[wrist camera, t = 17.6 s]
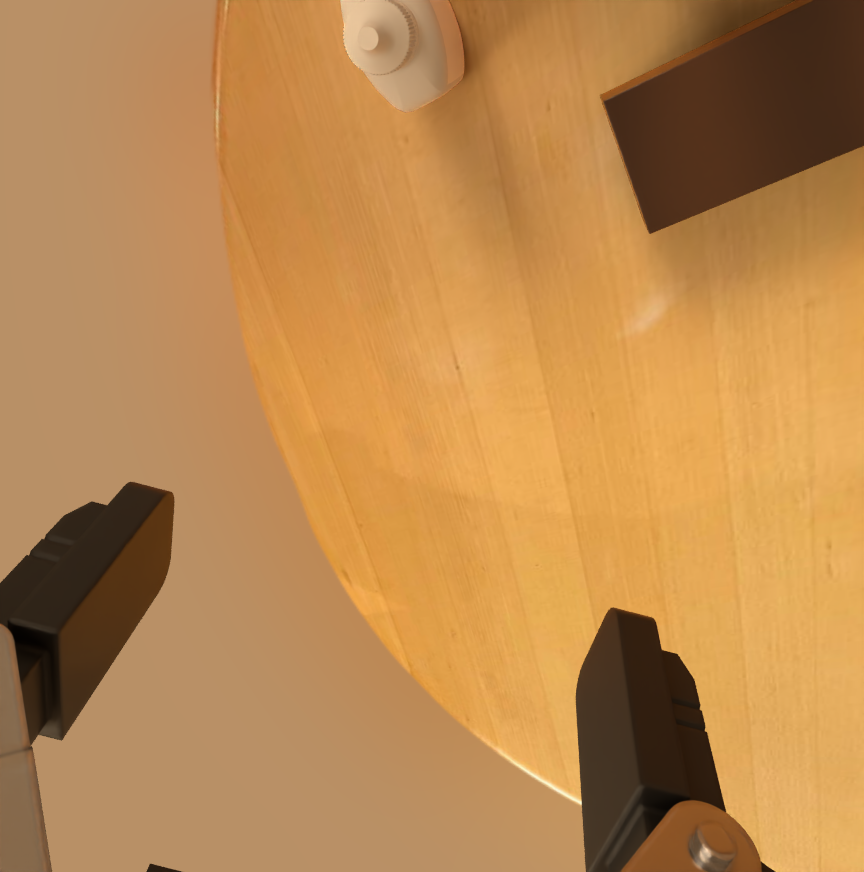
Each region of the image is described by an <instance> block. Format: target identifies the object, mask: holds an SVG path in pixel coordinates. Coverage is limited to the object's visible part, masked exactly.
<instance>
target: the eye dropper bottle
mask: <svg viewBox="0 0 864 872" xmlns="http://www.w3.org/2000/svg"><path fill="white" fill-rule="evenodd" d="M340 2H341V11H342V16H343V21H344V27H343V28H344V30H343V32H344V34H343V37H344V38H343V40H344V44H345V48H346V52H348V53H347V55H349V58H350V59H351V62H354V65H356V66H357V67H359V69H362V71H363V72H364V73H365V75H366V76H367V78H368V79H369V81H370V82H371V83H372V84H373V86H374V87H375V88H376V89H377V90H378V92H379V93H380V94H381V95H382V96H383V97H384V98H385V99H386V100H387V101H388V102H389V103H390V104H391V105H393V106H394V107H395V108H397V109H398V110H400V111H403V112H412V111H415V110H417V109H419V108H421V107H423V106H425V105H427V104H429V103H431V102H433V101H435V100H436V99H438V98H440V97H441V96H443V95H444V94H446V93H447V92H448V91H450V90H451V89H452V88H453V87H455V86H456V85H457V84H458V83H459V82H460V81H461V80H462V78H463V75H464V50H463V43H462V38H461V33H460V29H459V25H458V22H457V19H456V16H455V14H454V11H453V9H452V6H451V4H450V2H449V0H340Z"/></svg>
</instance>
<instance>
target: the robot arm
mask: <svg viewBox="0 0 864 872" xmlns="http://www.w3.org/2000/svg"><path fill="white" fill-rule="evenodd" d="M173 515H174V495H173V493H172V492H169V491H165V490H162V489H157V488H154V487H150V486H146V485H142V484H138V483H135V482H129V483H127V484H126V485H125V486H124V487H123V488H122V489H121V490H120V492H119V493H118V494H117V495H116V496H115V497H114V498H113V500H112V501H111V502H110V503H109V504H108V505H103V504H99V503H95V502H90V503H88V504H86V505H84V506H82V507H80V508H78V509H76V510H74V511H72V512H70V513H68V514H66V515H64V516H63V517H62V518H61V519H60V521H59V522H58V523H57V524H56V525H55V526H54V527H53V528H52V529H51V530H50V531H49V532H48V533H47V534H46V537H45V539H41V541H40V542H39V543H38V544H37V545H36V546H35V547H34V548H33V549H32V550H31V552H30V555H29V556H28V555H26V556H25V557H24V559H23V560H22V561H21V562H20V563H19V564H18V565H17V566H16V567H15V568H14V569H13V570H12V571H11V572H10V573H9V575H7V577H6V578H5V579H4V580H3V581H2V582H1V583H0V872H52V868H51V862H50V855H49V849H48V842H47V836H46V830H45V823H44V816H43V810H42V803H41V798H40V790H39V784H38V778H37V771H36V765H35V759H34V753H33V748H32V746H31V745H32V743H33V741H34V740H35V739H36V737H37V736H38V735H42V736H46V737H50V738H54V739H58V740H63V738H64V736H65V735H66V733H67V732H68V730H69V729H70V727H71V726H72V724H73V723H74V721H75V720H76V718H77V716H78V715H79V714H80V712H81V710H82V709H83V707H84V706H85V704H86V703H87V701H88V700H89V698H90V697H91V695H92V694H93V692H94V690H95V689H96V688H97V686H98V685H99V683H100V681H101V680H102V678H103V677H104V675H105V674H106V672H107V671H108V669H109V668H110V666H111V665H112V663H113V662H114V660H115V658H116V657H117V655H118V654H119V652H120V651H121V649H122V648H123V646H124V645H125V643H126V642H127V640H128V639H129V637H130V636H131V634H132V632H133V631H134V630H135V628H136V626H137V625H138V623H139V622H140V620H141V619H142V617H143V616H144V614H145V613H146V611H147V609H148V608H149V606H150V605H151V603H152V602H153V600H154V599H155V597H156V596H157V594H158V593H159V591H160V589H161V587H162V585H163V583H164V581H165V578H166V575H167V572H168V569H169V565H170V559H171V546H172V531H173ZM576 713H577V729H578V746H579V763H580V780H581V797H582V814H583V830H584V847H585V864H586V872H775V871H774V870H772V869H770V868H769V867H767V866H766V865H765V864H764V863H762V862H761V861H760V857H759V854H758V851H757V849H756V847H755V845H754V843H753V841H752V839H751V838H750V837H749V835H748V834H747V832H746V831H745V830H744V829H743V828H742V827H741V825H740V824H739V823H738V822H737V821H735V820H734V819H733V818H732V817H731V816H730V815H728V814H727V813H726V810H725V806H724V802H723V797H722V793H721V789H720V785H719V781H718V777H717V772H716V768H715V764H714V760H713V756H712V752H711V747H710V743H709V739H708V735H707V732H705V722H704V718H703V714H702V711H701V710H700V702H699V697H698V693H697V689H696V685H695V681H694V679H693V677H692V675H691V674H690V672H689V671H688V669H687V668H686V666H685V665H684V663H683V662H682V660H681V659H680V657H679V656H678V654H675V653H671V652H667V651H663V650H662V649H661V644H660V639H659V634H658V629H657V625H656V622H655V620H654V619H653V618H652V617H648V616H644V615H640V614H636V613H633V612H629V611H625V610H621V609H617V608H611V609H610V610H609V611H608V612H607V614H606V616H605V618H604V620H603V622H602V624H601V626H600V628H599V631H598V633H597V635H596V637H595V639H594V641H593V643H592V646H591V648H590V650H589V652H588V654H587V656H586V658H585V661H584V663H583V665H582V668H581V670H580V674H579V678H578V683H577V689H576ZM30 746H31V747H30ZM147 872H181V871H177V870H173V869H169V868H165V867H161V866H157V865H154V864H150V865H149V867H148V870H147Z"/></svg>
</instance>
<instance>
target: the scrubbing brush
mask: <svg viewBox="0 0 864 872" xmlns="http://www.w3.org/2000/svg"><path fill="white" fill-rule="evenodd" d="M600 98H601V101H602V104H603V107H604V110H605V112H606V115H607V118H608V121H609V124H610V127H611V130H612V132H613V135H614V138H615V141H616V144H617V147H618V150H619V152H620V155H621V158H622V161H623V164H624V167H625V170H626V172H627V175H628V178H629V181H630V184H631V187H632V190H633V192H634V195H635V198H636V201H637V204H638V207H639V210H640V213H641V215H642V218H643V221H644V223H645V225H646V228H647V230H648V232H649V234H651V233H653V232H656V231H658V230H661V229H663V228H666V227H668V226H670V225H673V224H675V223H678V222H680V221H683V220H685V219H687V218H690V217H692V216H695V215H697V214H699V213H702V212H704V211H707V210H709V209H712V208H714V207H716V206H719V205H721V204H724V203H726V202H729V201H731V200H733V199H736V198H738V197H741V196H743V195H745V194H748V193H750V192H753V191H755V190H758V189H760V188H762V187H765V186H767V185H770V184H772V183H775V182H777V181H779V180H782V179H784V178H787V177H789V176H792V175H794V174H796V173H799V172H801V171H804V170H806V169H808V168H811V167H813V166H816V165H818V164H821V163H823V162H825V161H828V160H830V159H833V158H835V157H838V156H840V155H842V154H845V153H847V152H850V151H852V150H854V149H857V148H859V147H862V146H864V0H796V1H794V2H792V3H790V4H788V5H785V6H783V7H781V8H779V9H777V10H775V11H773V12H771V13H769V14H767V15H765V16H763V17H761V18H759V19H756V20H754V21H752V22H750V23H748V24H746V25H744V26H742V27H740V28H738V29H736V30H734V31H732V32H730V33H728V34H725V35H723V36H721V37H719V38H717V39H715V40H713V41H711V42H709V43H707V44H705V45H703V46H701V47H699V48H697V49H694V50H692V51H690V52H688V53H686V54H684V55H682V56H680V57H678V58H676V59H674V60H672V61H670V62H668V63H666V64H663V65H661V66H659V67H657V68H655V69H653V70H651V71H649V72H647V73H645V74H643V75H641V76H639V77H637V78H634V79H632V80H630V81H628V82H626V83H624V84H622V85H620V86H618V87H616V88H614V89H612V90H610V91H608V92H606V93H603V94H601V95H600Z"/></svg>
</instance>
